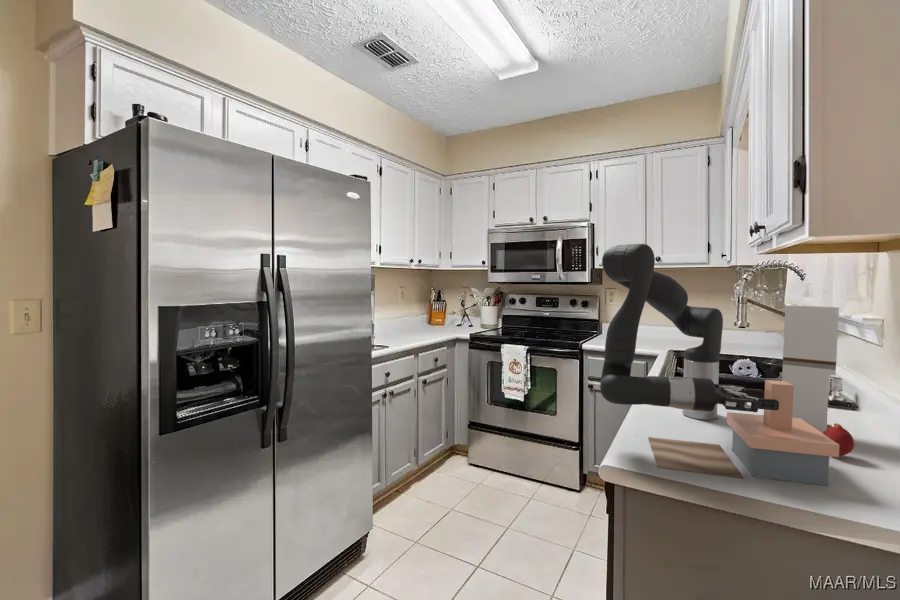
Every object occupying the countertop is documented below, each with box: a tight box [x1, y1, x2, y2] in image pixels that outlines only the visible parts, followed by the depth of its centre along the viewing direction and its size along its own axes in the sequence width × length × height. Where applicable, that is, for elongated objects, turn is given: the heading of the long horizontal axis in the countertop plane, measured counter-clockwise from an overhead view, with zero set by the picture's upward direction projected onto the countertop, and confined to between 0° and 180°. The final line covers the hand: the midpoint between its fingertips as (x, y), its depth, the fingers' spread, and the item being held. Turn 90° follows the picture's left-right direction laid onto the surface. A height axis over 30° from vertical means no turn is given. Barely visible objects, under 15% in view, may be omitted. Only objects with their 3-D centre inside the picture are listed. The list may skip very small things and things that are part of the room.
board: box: [647, 436, 744, 479], centre depth 103 cm, size 18×16×1 cm
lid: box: [726, 379, 840, 458], centre depth 97 cm, size 17×15×12 cm
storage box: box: [731, 429, 830, 486], centre depth 98 cm, size 15×13×8 cm
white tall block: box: [781, 303, 840, 433], centre depth 117 cm, size 11×11×35 cm
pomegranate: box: [823, 422, 855, 458], centre depth 103 cm, size 6×6×8 cm
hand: (770, 399), depth 97 cm, fingers open, 8 cm apart
